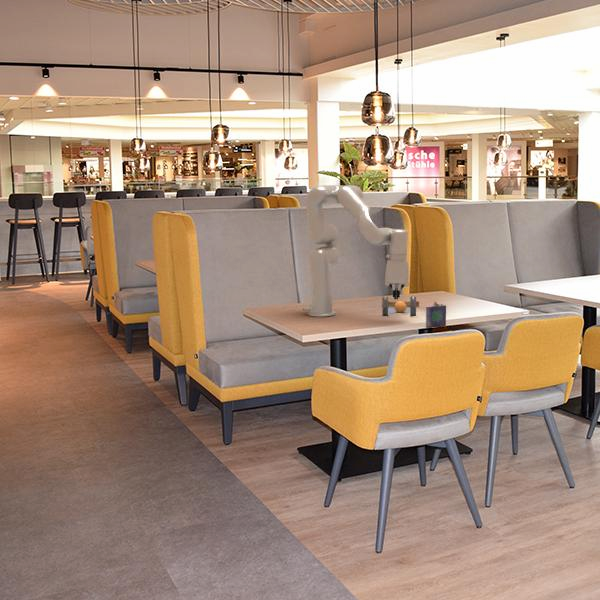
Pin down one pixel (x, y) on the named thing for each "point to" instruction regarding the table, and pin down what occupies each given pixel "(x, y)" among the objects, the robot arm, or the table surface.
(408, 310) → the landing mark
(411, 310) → the post right
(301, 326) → the table surface
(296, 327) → the table surface
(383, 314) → the post left
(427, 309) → the flask
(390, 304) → the stopper wall
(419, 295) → the table surface
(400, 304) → the ball
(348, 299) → the table surface
